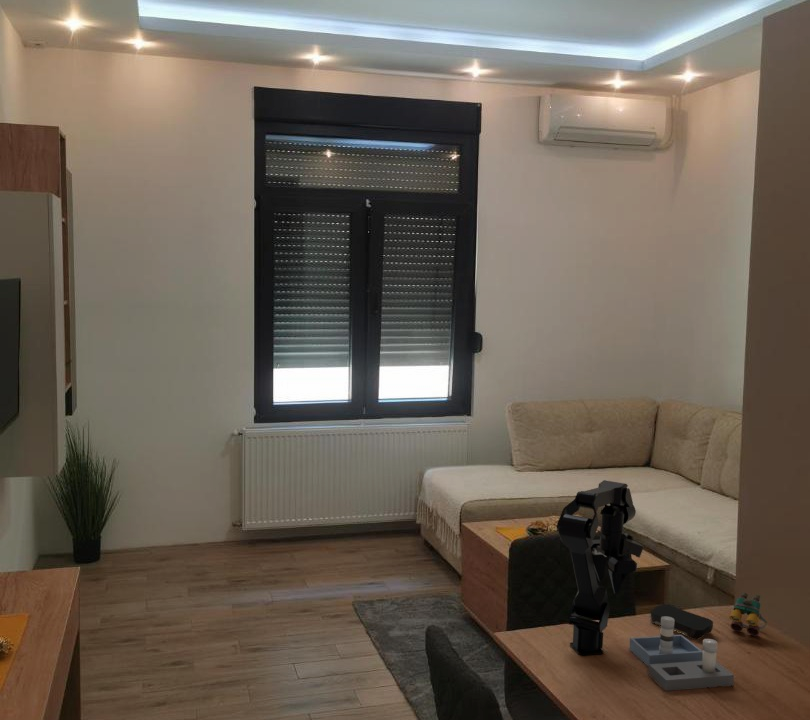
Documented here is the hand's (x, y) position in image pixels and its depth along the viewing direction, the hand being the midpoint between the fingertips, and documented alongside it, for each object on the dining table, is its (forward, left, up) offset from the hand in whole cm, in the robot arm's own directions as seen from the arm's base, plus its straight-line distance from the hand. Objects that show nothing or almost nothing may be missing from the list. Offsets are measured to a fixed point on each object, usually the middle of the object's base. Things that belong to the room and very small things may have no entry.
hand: (608, 587), depth 223 cm
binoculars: (+37, -6, -12) cm, 39 cm away
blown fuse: (+8, -16, -11) cm, 22 cm away
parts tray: (+8, -16, -12) cm, 22 cm away
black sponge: (+21, 0, -13) cm, 25 cm away
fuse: (+12, -29, -12) cm, 34 cm away
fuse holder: (+8, -29, -12) cm, 32 cm away
